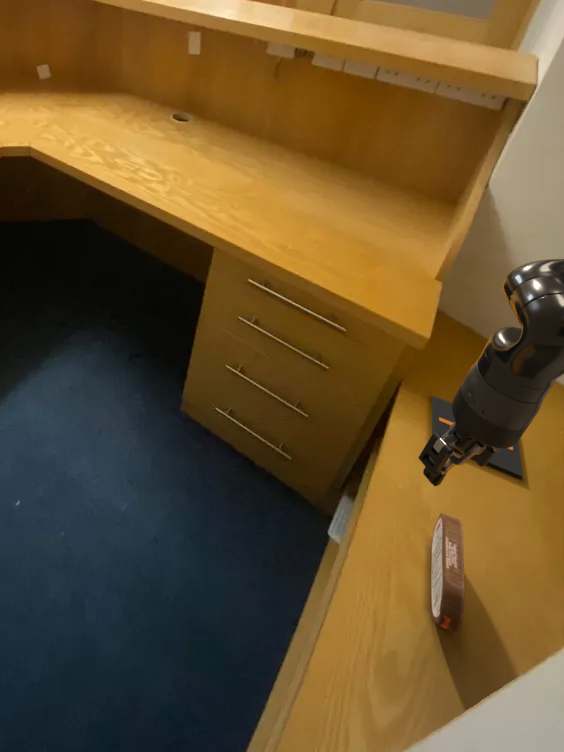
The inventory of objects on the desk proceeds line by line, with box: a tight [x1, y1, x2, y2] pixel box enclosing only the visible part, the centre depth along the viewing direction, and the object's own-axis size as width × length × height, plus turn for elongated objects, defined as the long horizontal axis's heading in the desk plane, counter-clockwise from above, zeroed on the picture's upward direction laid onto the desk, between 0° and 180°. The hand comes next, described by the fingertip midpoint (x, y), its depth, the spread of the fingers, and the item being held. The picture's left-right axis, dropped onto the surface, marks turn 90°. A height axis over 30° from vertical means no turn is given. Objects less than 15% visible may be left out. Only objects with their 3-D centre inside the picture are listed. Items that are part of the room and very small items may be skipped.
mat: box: [431, 396, 523, 479], centre depth 97 cm, size 14×10×1 cm
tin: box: [430, 512, 466, 635], centre depth 76 cm, size 15×3×8 cm, turn 151°
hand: (454, 469), depth 72 cm, fingers open, 8 cm apart
